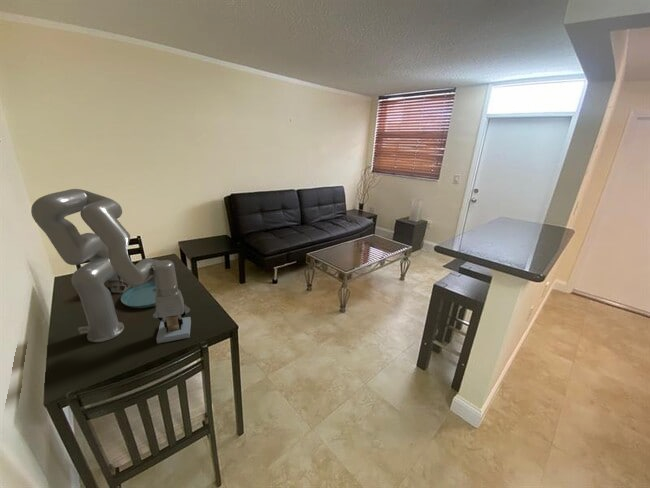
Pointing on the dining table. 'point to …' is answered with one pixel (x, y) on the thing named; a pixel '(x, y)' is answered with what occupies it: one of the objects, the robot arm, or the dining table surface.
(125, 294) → the blue plate
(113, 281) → the coffee box
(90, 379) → the dining table surface
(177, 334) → the grey square-hole plate
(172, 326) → the plug
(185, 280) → the dining table surface
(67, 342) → the dining table surface
